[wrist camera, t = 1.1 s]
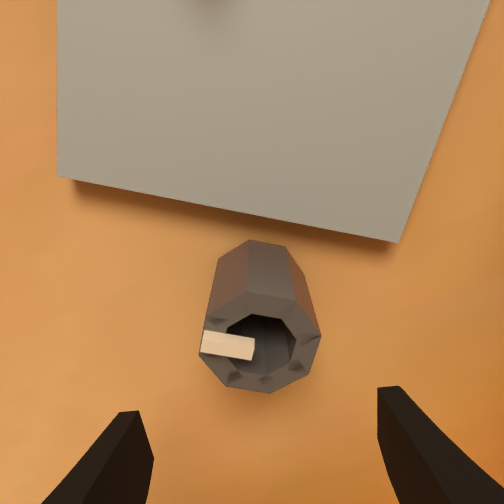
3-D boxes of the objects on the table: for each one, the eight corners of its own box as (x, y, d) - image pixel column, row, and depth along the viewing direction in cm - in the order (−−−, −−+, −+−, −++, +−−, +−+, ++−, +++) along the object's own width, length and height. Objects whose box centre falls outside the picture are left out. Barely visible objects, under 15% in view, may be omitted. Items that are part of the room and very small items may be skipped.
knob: (310, 251, 19) (334, 315, 14) (289, 325, 21) (302, 409, 15) (222, 234, 19) (209, 292, 13) (208, 311, 21) (191, 391, 15)
